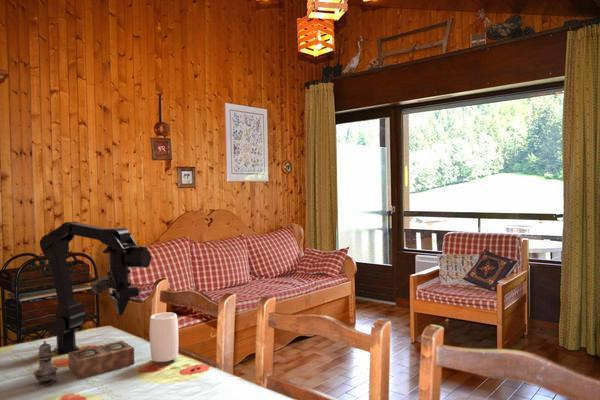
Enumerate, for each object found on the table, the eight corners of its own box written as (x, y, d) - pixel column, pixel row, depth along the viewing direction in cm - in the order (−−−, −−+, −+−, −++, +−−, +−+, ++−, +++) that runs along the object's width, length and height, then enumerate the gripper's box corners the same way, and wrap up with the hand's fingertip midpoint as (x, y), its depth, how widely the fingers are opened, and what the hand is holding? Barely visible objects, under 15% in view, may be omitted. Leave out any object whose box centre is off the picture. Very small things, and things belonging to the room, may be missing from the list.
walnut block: (78, 379, 130) (77, 360, 130) (68, 369, 137) (68, 351, 137) (134, 364, 140) (133, 347, 140) (122, 355, 148) (122, 339, 148)
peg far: (106, 361, 142) (106, 346, 142) (119, 358, 144) (119, 343, 144) (110, 364, 139) (110, 349, 139) (124, 361, 141) (123, 346, 141)
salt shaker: (47, 388, 124) (46, 344, 124) (28, 387, 125) (27, 343, 125) (62, 379, 130) (61, 337, 129) (44, 378, 131) (43, 336, 130)
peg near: (78, 368, 136) (78, 353, 136) (92, 364, 139) (92, 349, 139) (82, 372, 133) (82, 356, 133) (97, 368, 136) (96, 353, 136)
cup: (150, 367, 137) (149, 320, 137) (150, 358, 145) (149, 313, 145) (179, 363, 140) (178, 317, 140) (178, 354, 148) (176, 310, 148)
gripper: (83, 266, 150) (85, 314, 150) (102, 273, 136) (104, 326, 136) (118, 262, 157) (119, 308, 157) (139, 269, 143) (141, 318, 143)
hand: (120, 315), depth 148 cm, fingers closed
